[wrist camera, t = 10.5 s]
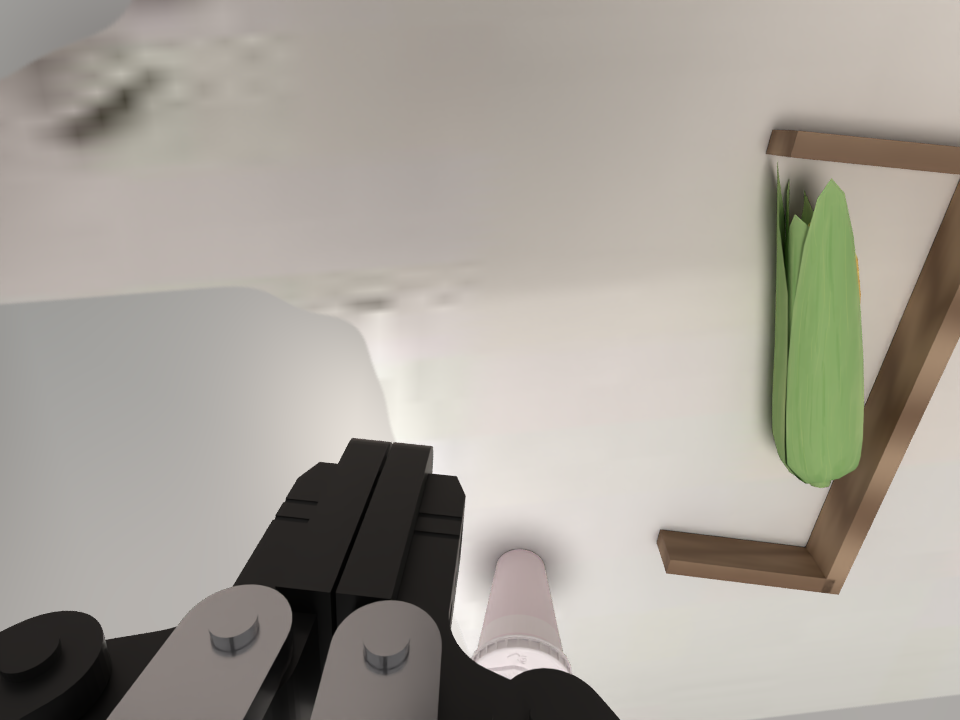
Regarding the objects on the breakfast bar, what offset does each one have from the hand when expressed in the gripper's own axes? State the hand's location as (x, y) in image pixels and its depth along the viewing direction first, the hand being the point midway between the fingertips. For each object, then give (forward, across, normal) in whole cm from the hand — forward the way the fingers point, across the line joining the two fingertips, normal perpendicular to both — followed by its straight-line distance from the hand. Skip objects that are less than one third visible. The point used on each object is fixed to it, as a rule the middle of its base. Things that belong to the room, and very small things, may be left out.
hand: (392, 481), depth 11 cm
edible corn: (+25, -20, +4) cm, 32 cm away
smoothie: (+24, -5, +25) cm, 35 cm away
